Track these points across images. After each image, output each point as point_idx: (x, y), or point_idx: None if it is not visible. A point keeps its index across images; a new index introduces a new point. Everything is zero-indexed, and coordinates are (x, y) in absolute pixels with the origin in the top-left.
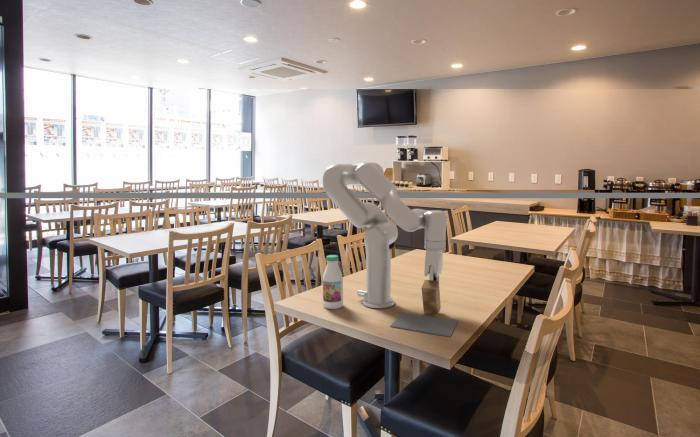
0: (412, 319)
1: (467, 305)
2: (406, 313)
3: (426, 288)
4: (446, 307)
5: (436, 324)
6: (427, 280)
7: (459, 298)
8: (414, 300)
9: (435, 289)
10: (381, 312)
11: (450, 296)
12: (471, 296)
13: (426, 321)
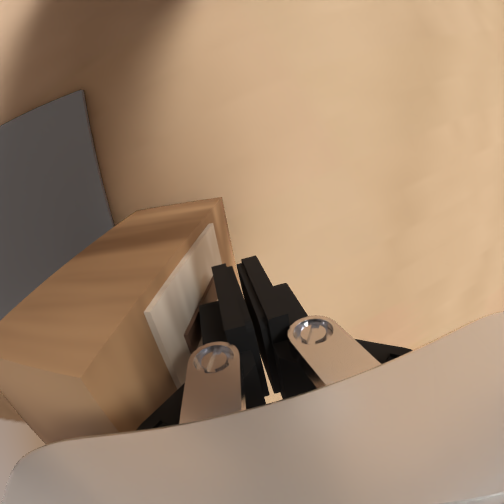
0: (19, 209)
1: (390, 320)
2: (69, 123)
3: (2, 392)
4: (328, 261)
5: None
6: (92, 407)
7: (456, 253)
8: (344, 49)
9: None
10: (36, 2)
11: (467, 209)
12: (478, 280)
13: None
